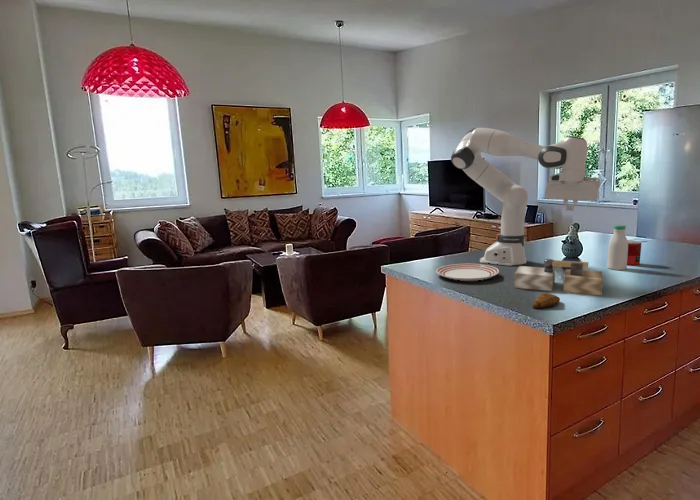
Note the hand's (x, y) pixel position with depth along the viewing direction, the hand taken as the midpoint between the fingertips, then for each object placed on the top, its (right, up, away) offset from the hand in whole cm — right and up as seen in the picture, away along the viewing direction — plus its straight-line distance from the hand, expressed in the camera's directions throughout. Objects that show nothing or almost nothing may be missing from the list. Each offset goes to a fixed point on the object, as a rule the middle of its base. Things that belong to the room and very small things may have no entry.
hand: (569, 210), depth 189 cm
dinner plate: (-39, -29, +15) cm, 51 cm away
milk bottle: (+31, -25, +19) cm, 44 cm away
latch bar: (-7, -23, -10) cm, 26 cm away
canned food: (+42, -24, +27) cm, 55 cm away
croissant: (-22, -37, -29) cm, 52 cm away
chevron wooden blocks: (-8, -31, -7) cm, 33 cm away
